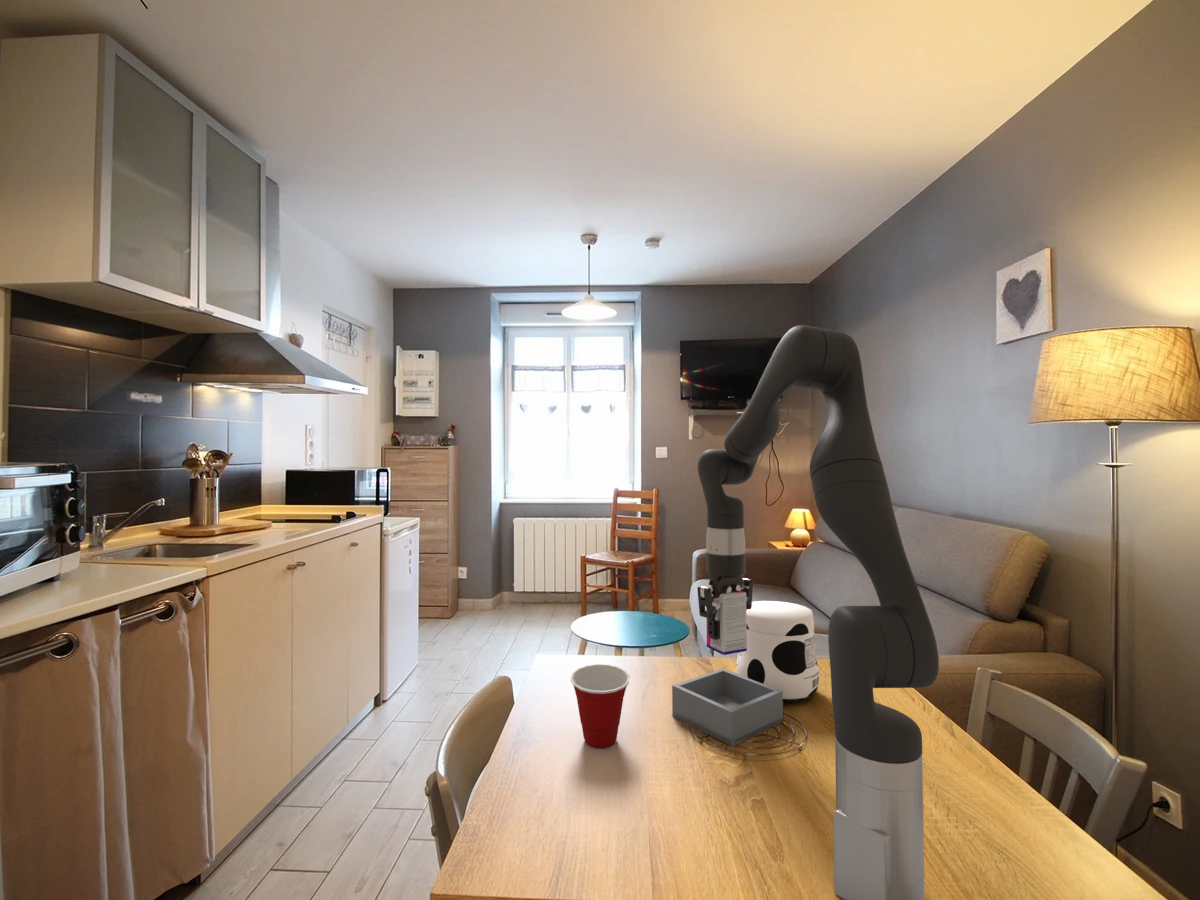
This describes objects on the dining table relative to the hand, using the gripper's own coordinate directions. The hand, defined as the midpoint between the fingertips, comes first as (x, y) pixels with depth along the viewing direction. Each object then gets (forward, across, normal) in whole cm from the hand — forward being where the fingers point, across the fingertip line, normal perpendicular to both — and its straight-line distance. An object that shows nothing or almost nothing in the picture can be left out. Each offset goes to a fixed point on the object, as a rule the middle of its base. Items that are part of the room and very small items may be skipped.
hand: (726, 635), depth 110 cm
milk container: (+17, +19, +2) cm, 25 cm away
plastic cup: (+17, -25, +8) cm, 31 cm away
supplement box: (+3, 0, 0) cm, 3 cm away
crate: (+16, 0, 0) cm, 16 cm away
